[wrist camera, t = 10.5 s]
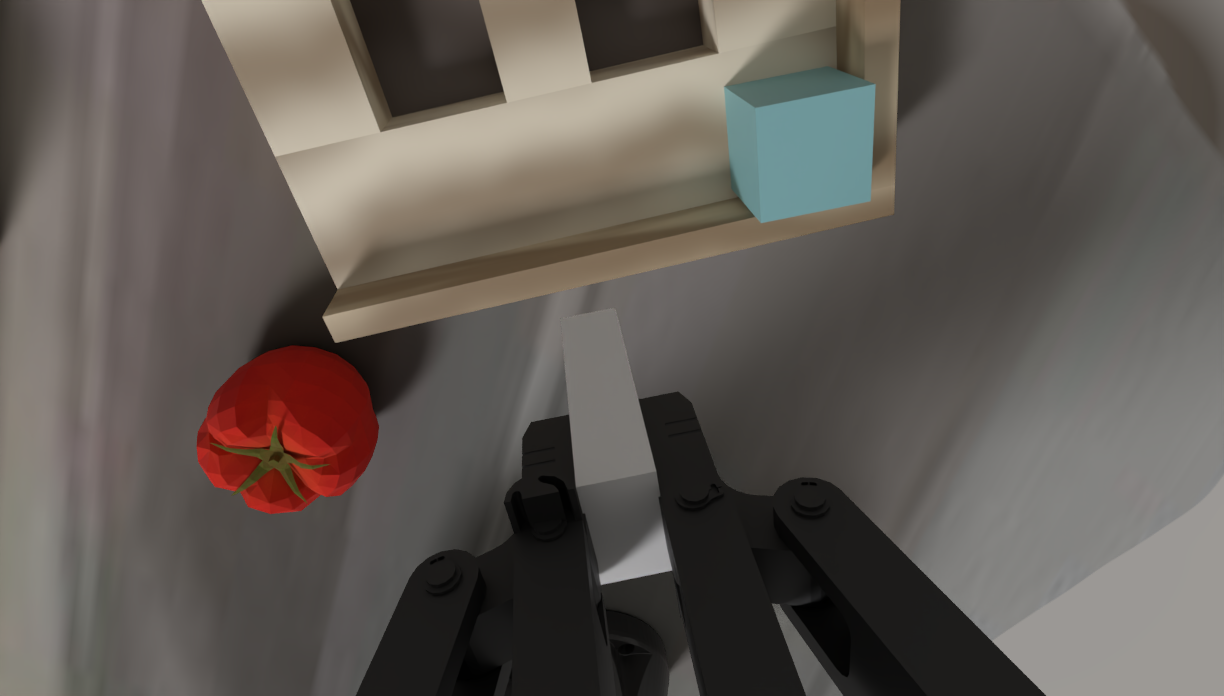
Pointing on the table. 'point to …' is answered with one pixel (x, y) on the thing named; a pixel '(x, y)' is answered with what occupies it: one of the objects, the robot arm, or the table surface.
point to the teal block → (800, 142)
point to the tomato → (289, 429)
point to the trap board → (531, 136)
